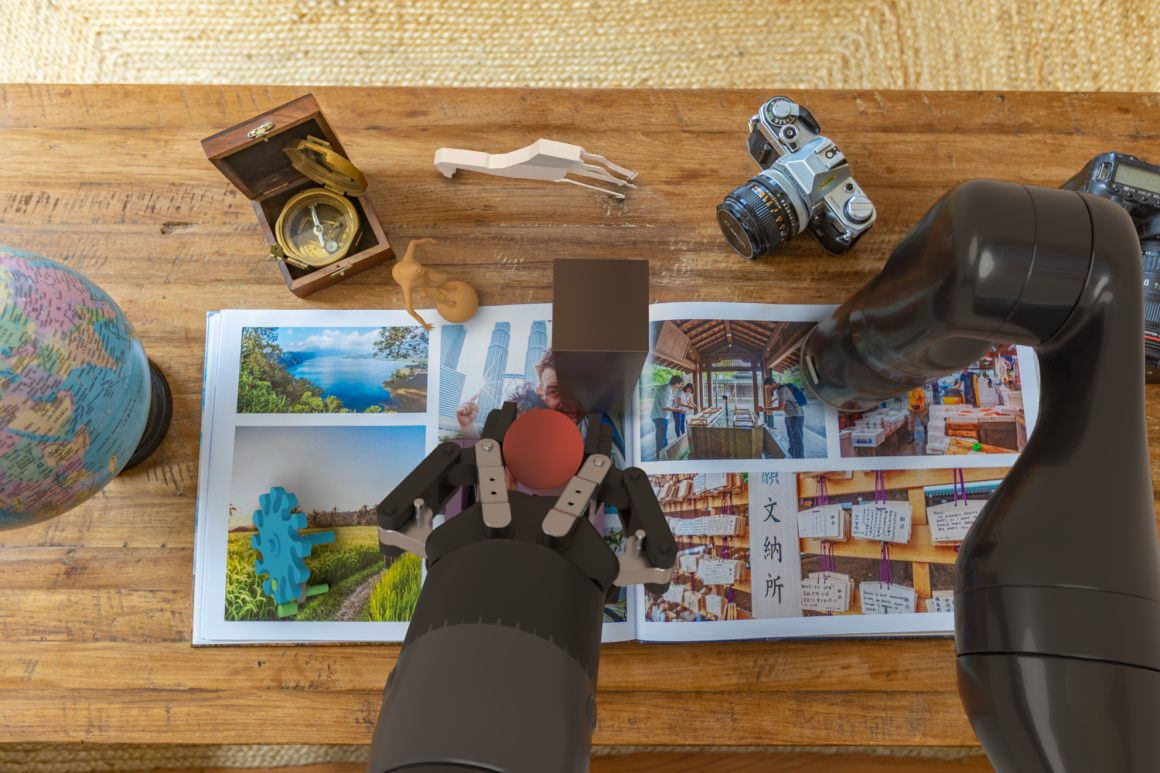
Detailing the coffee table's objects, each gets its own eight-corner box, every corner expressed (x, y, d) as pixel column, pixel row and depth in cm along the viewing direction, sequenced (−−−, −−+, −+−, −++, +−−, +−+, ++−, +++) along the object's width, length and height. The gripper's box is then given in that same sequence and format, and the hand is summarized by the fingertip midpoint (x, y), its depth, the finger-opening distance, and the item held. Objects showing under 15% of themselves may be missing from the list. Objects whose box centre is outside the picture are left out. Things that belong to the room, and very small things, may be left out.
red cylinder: (584, 430, 47) (584, 409, 39) (583, 498, 46) (583, 490, 38) (517, 429, 47) (503, 407, 39) (515, 497, 46) (501, 489, 38)
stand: (626, 350, 75) (649, 259, 49) (626, 413, 74) (649, 352, 48) (563, 349, 75) (553, 257, 49) (562, 412, 74) (551, 351, 48)
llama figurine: (597, 204, 84) (432, 156, 78) (646, 165, 74) (459, 105, 67) (595, 221, 84) (429, 174, 77) (644, 183, 73) (456, 125, 67)
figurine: (479, 350, 75) (460, 317, 63) (416, 349, 75) (385, 316, 63) (482, 266, 76) (464, 219, 65) (420, 266, 76) (390, 218, 65)
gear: (242, 486, 71) (292, 489, 64) (304, 480, 75) (358, 482, 68) (246, 610, 71) (297, 626, 64) (309, 596, 75) (363, 611, 68)
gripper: (312, 727, 31) (425, 454, 45) (669, 781, 31) (671, 489, 45) (290, 602, 27) (423, 344, 41) (704, 662, 27) (694, 380, 41)
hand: (552, 421), depth 43 cm, fingers closed on red cylinder, 4 cm apart
